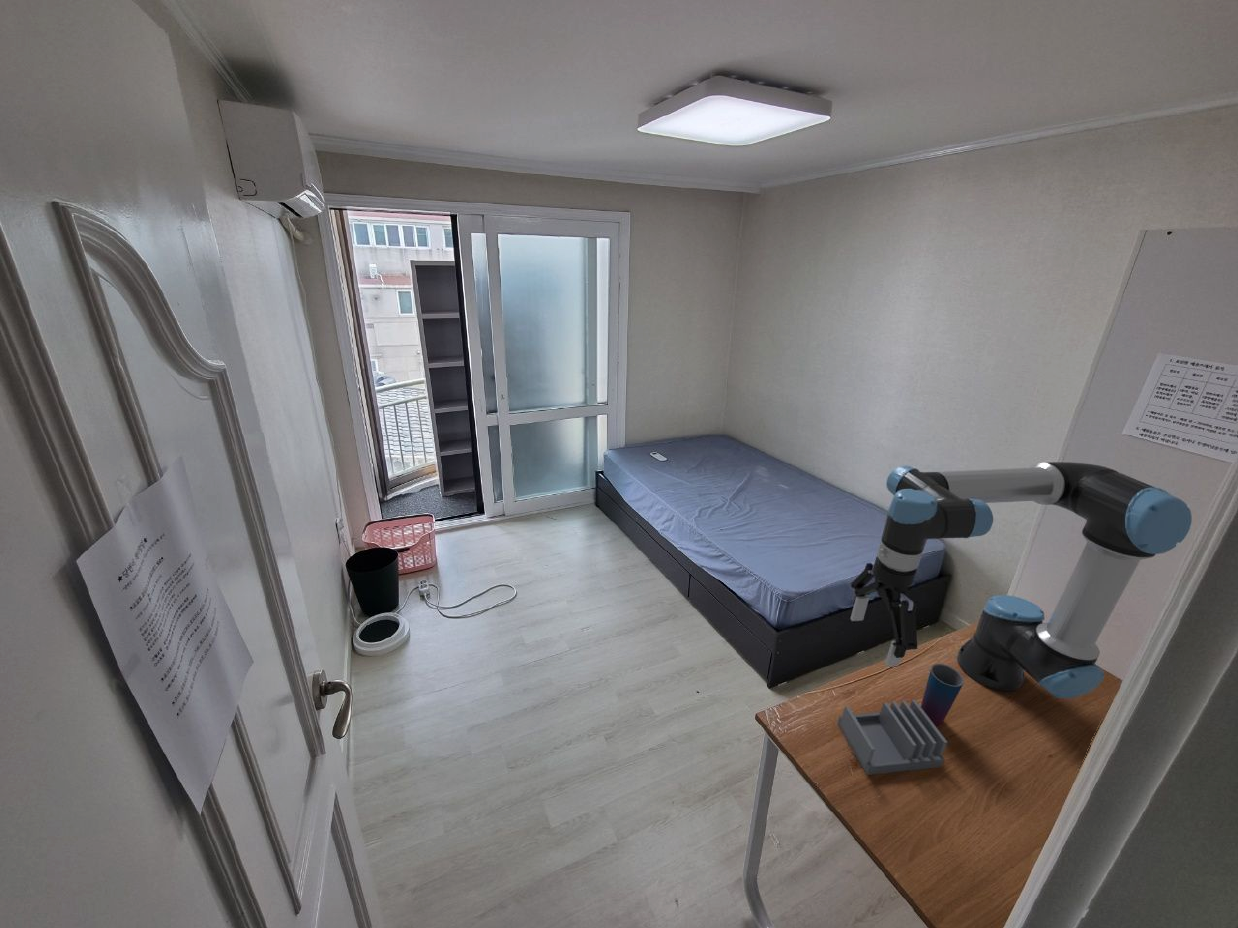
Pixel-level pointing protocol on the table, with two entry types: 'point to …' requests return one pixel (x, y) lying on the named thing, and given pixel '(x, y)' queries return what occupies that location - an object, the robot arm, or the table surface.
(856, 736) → the rack
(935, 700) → the cup
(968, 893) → the table surface
